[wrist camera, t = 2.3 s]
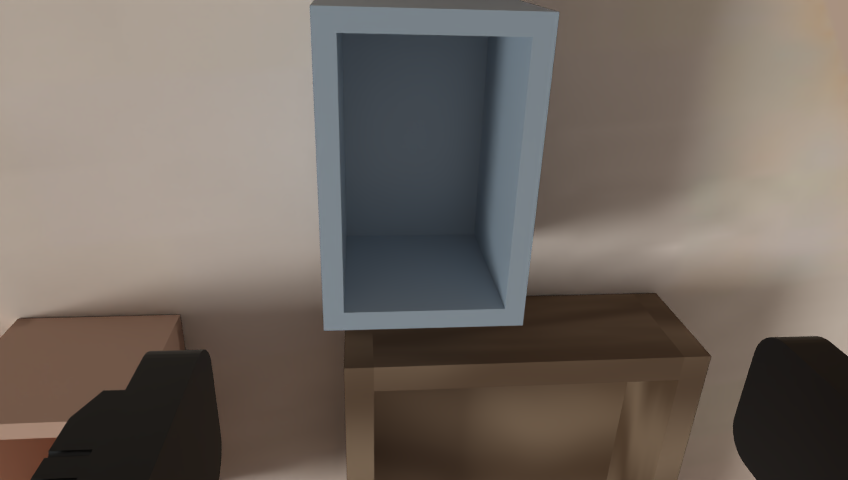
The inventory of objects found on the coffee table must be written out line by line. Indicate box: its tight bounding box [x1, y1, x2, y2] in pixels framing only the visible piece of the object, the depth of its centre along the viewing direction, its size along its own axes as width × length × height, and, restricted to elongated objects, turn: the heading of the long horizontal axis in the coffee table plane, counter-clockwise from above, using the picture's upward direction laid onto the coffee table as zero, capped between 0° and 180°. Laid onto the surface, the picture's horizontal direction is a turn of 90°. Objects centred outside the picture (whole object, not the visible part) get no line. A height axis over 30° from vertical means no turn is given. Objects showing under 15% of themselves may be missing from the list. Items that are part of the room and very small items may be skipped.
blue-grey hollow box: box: [310, 0, 559, 331], centre depth 19 cm, size 9×6×6 cm, turn 178°
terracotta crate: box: [0, 315, 186, 480], centre depth 23 cm, size 9×6×6 cm, turn 178°
